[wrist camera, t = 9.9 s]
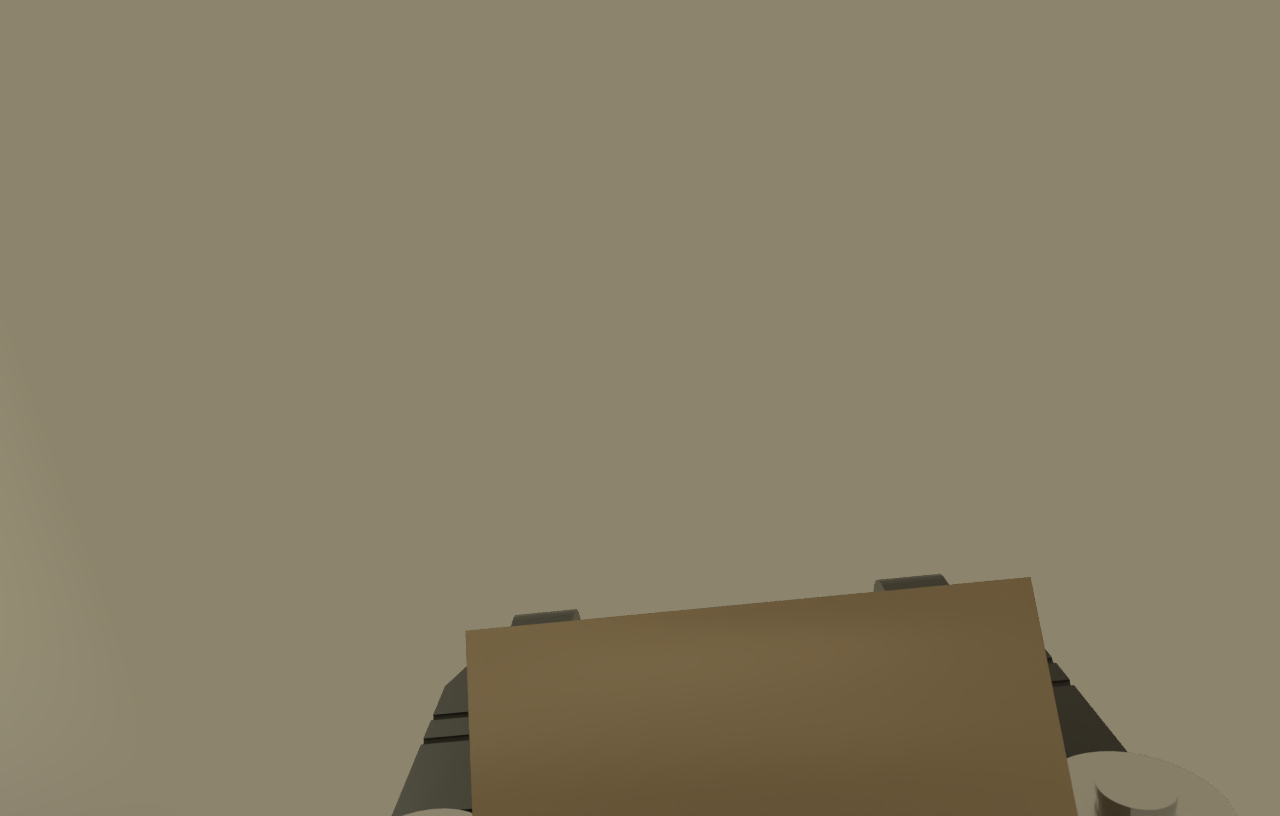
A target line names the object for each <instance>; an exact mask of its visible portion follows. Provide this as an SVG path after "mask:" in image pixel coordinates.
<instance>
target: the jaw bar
mask: <svg viewBox="0 0 1280 816" xmlns="http://www.w3.org/2000/svg"><path fill="white" fill-rule="evenodd" d="M466 656H467V684H468V711H469V739H470V766H471V793H472V816H1078V813H1077V808H1076V803H1075V798H1074V793H1073V788H1072V783H1071V778H1070V773H1069V767H1068V762H1067V757H1066V752H1065V747H1064V742H1063V737H1062V732H1061V727H1060V722H1059V717H1058V712H1057V707H1056V702H1055V697H1054V692H1053V687H1052V682H1051V677H1050V672H1049V667H1048V662H1047V657H1046V652H1045V648H1044V642H1043V638H1042V632H1041V627H1040V623H1039V617H1038V613H1037V607H1036V602H1035V597H1034V592H1033V587H1032V582H1031V577H1027V578H1017V579H1005V580H995V581H984V582H974V583H964V584H953V585H942V586H932V587H921V588H911V589H900V590H890V591H879V592H869V593H858V594H848V595H837V596H828V597H817V598H806V599H795V600H785V601H774V602H764V603H753V604H743V605H732V606H722V607H711V608H702V609H691V610H680V611H669V612H658V613H648V614H637V615H627V616H617V617H606V618H595V619H585V620H574V621H564V622H553V623H543V624H532V625H522V626H511V627H502V628H491V629H480V630H469V631H466Z"/></svg>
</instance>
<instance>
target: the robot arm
mask: <svg viewBox="0 0 1280 816" xmlns="http://www.w3.org/2000/svg"><path fill="white" fill-rule="evenodd" d="M942 585H949V584H948V583H947V581H946V580H945V578H944V577H943V576H942V575H941V574H935V575H924V576H913V577H903V578H894V579H882V580H876V582H875V584H874V592H879V591H890V590H900V589H911V588H921V587H932V586H942ZM574 620H581V619H580V615H579V612H578V610H577V609H574V610H564V611H553V612H543V613H533V614H523V615H515V617H514V619H513V621H512V625H511V626H522V625H532V624H543V623H553V622H564V621H574ZM1045 652H1046V657H1047V662H1048V667H1049V672H1050V677H1051V682H1052V687H1053V692H1054V697H1055V702H1056V707H1057V712H1058V717H1059V722H1060V727H1061V732H1062V737H1063V742H1064V747H1065V752H1066V757H1067V762H1068V767H1069V773H1070V778H1071V783H1072V788H1073V793H1074V798H1075V803H1076V808H1077V813H1078V816H1238V815H1237V814H1236V812H1235V810H1234V808H1233V807H1232V805H1231V804H1230V803H1229V801H1228V799H1227V798H1226V797H1225V796H1224V795H1223V794H1222V793H1221V792H1220V791H1219V790H1218V789H1216V788H1215V787H1214V786H1213V785H1211V784H1210V783H1209V782H1207V781H1206V780H1204V779H1203V778H1201V777H1199V776H1198V775H1196V774H1194V773H1193V772H1191V771H1189V770H1186V769H1184V768H1182V767H1180V766H1178V765H1175V764H1173V763H1170V762H1167V761H1164V760H1161V759H1158V758H1154V757H1150V756H1146V755H1141V754H1134V753H1128V752H1127V751H1126V750H1125V748H1124V747H1123V746H1122V745H1121V743H1120V742H1119V741H1118V740H1117V738H1116V737H1115V736H1114V735H1113V733H1112V732H1111V731H1110V730H1109V728H1108V727H1107V726H1106V725H1105V723H1104V722H1103V721H1102V720H1101V719H1100V717H1099V716H1098V715H1097V713H1096V712H1095V711H1094V710H1093V708H1092V707H1091V706H1090V705H1089V703H1088V702H1087V701H1086V700H1085V698H1084V697H1083V696H1082V695H1081V693H1080V692H1079V691H1078V690H1077V689H1076V687H1075V686H1074V685H1072V686H1071V685H1070V680H1069V678H1068V677H1067V676H1066V675H1065V673H1064V672H1063V671H1062V670H1061V669H1060V667H1059V666H1058V665H1057V663H1053V661H1052V657H1051V656H1050V655H1049V653H1048V652H1047V651H1046V650H1045ZM433 716H434V719H433V720H431V722H430V724H429V726H428V729H427V731H426V734H425V736H424V744H423V745H421V746H420V748H419V751H418V753H417V756H416V758H415V761H414V763H413V766H412V768H411V770H410V773H409V775H408V778H407V780H406V782H405V785H404V787H403V790H402V792H401V795H400V797H399V799H398V802H397V804H396V807H395V809H394V812H393V814H392V816H472V793H471V766H470V739H469V711H468V684H467V667H466V668H464V669H463V670H462V671H461V672H460V673H459V674H458V675H457V676H456V677H455V678H454V679H453V680H452V681H450V682H449V683H448V684H447V685H446V686H445V688H444V690H443V693H442V695H441V698H440V700H439V702H438V705H437V707H436V709H435V712H434V714H433Z"/></svg>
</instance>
